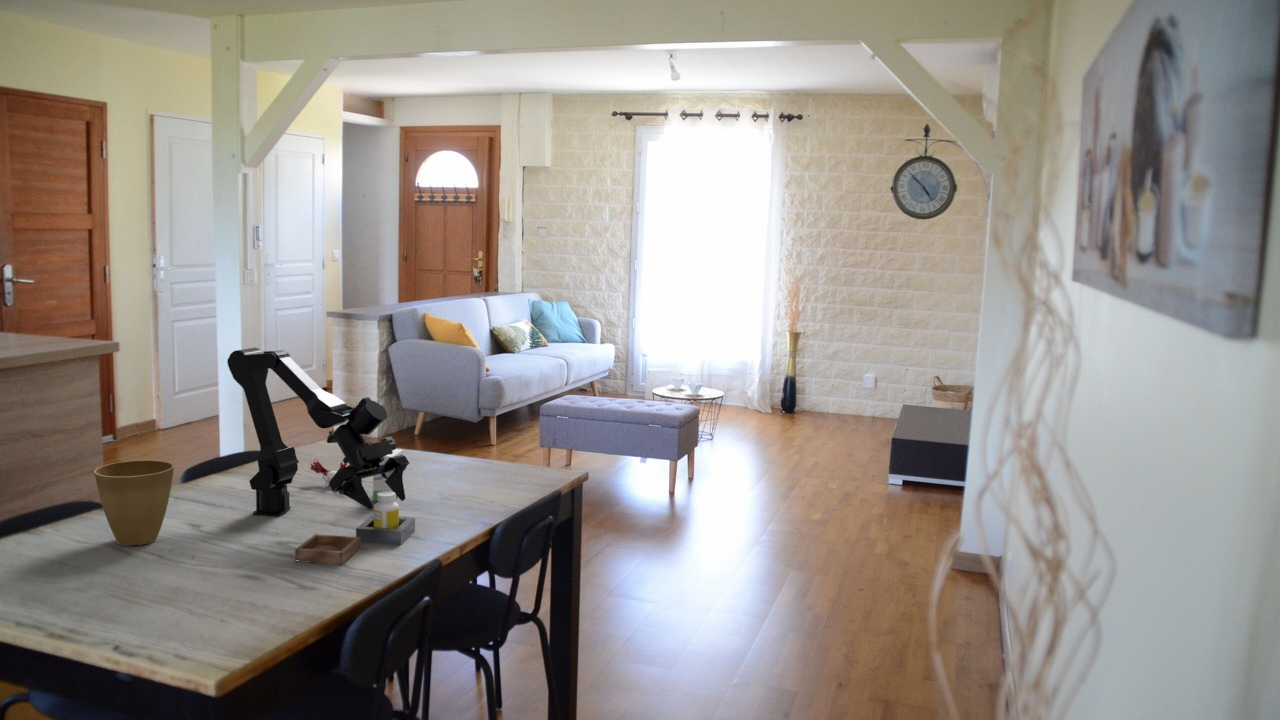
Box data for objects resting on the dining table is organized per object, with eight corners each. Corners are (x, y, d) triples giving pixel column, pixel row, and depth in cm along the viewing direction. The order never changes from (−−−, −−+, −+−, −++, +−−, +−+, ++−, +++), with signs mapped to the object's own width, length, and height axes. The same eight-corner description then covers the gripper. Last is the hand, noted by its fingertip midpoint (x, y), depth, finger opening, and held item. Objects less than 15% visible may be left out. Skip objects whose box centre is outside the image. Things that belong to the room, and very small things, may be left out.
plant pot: (191, 534, 211) (189, 463, 209) (139, 556, 197) (136, 479, 194) (134, 526, 215) (132, 455, 212) (79, 546, 200) (76, 471, 198)
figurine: (375, 482, 258) (375, 458, 257) (352, 493, 247) (352, 468, 246) (325, 476, 262) (325, 452, 261) (300, 487, 251) (300, 462, 250)
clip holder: (356, 541, 211) (356, 528, 211) (371, 527, 221) (372, 515, 221) (400, 544, 210) (401, 531, 210) (414, 530, 220) (415, 517, 220)
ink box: (391, 502, 241) (391, 456, 239) (372, 500, 242) (372, 454, 240) (403, 493, 249) (404, 448, 248) (384, 491, 250) (385, 447, 248)
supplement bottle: (400, 532, 218) (401, 490, 217) (395, 540, 213) (396, 497, 212) (376, 531, 218) (377, 489, 217) (370, 539, 213) (371, 496, 212)
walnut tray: (295, 561, 198) (295, 549, 197) (315, 545, 208) (315, 534, 207) (343, 564, 197) (343, 552, 197) (360, 548, 207) (360, 537, 207)
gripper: (337, 432, 207) (372, 492, 203) (403, 420, 223) (437, 475, 218) (314, 462, 213) (347, 521, 208) (380, 448, 228) (412, 502, 224)
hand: (388, 504), depth 214 cm, fingers open, 9 cm apart
